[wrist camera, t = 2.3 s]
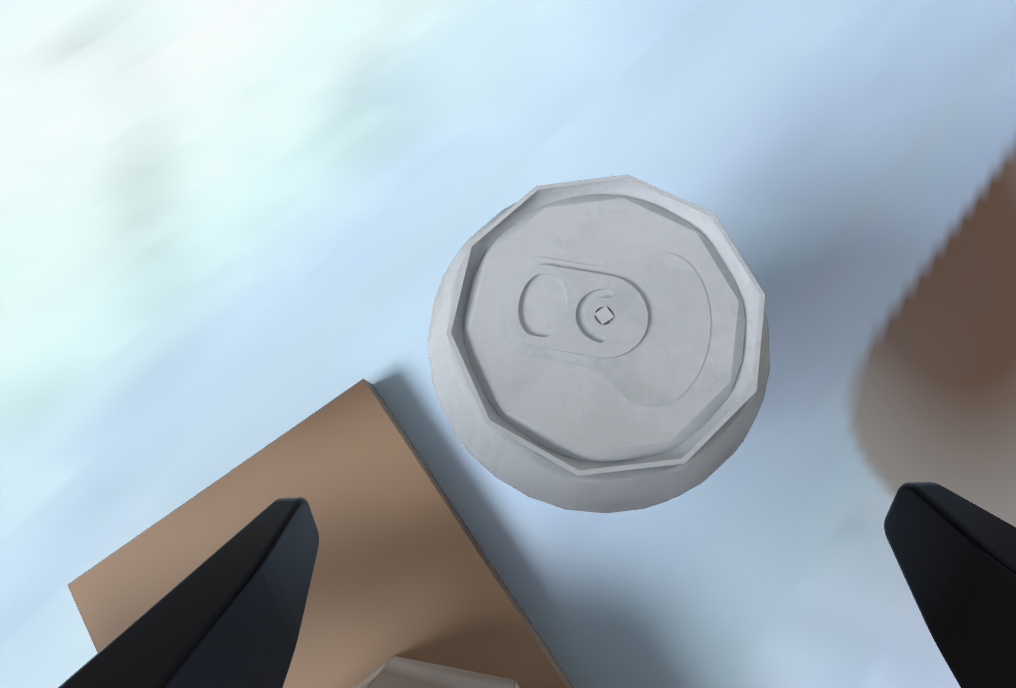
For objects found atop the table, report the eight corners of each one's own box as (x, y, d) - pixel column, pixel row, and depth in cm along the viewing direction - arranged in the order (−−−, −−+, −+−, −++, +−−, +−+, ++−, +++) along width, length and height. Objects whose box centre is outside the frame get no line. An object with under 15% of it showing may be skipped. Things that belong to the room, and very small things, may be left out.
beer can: (618, 509, 17) (789, 560, 6) (476, 479, 18) (369, 470, 6) (638, 368, 18) (815, 173, 7) (504, 344, 19) (460, 122, 7)
